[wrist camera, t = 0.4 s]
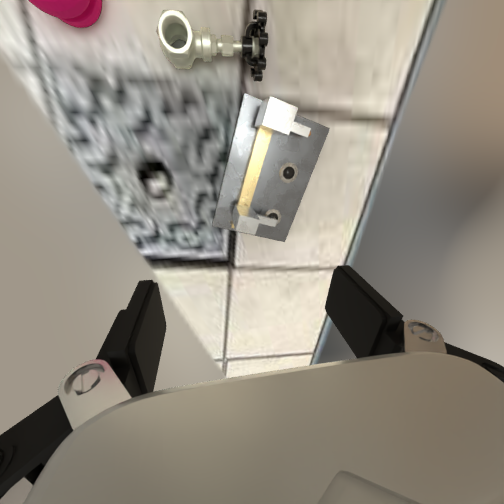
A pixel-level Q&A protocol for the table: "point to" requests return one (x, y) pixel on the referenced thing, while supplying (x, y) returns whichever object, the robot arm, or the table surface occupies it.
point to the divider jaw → (279, 118)
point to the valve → (212, 42)
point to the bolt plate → (265, 175)
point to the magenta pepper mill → (72, 10)
